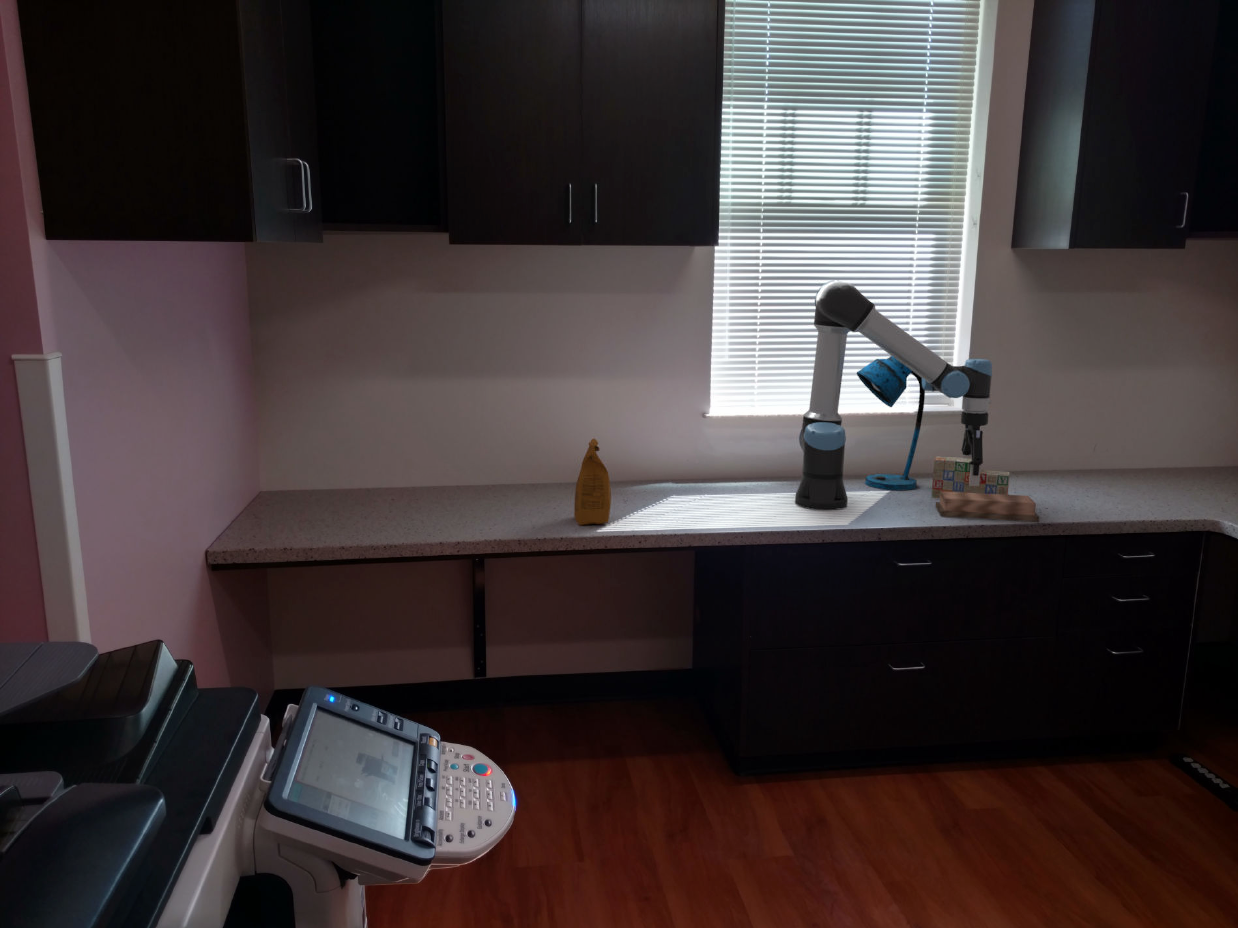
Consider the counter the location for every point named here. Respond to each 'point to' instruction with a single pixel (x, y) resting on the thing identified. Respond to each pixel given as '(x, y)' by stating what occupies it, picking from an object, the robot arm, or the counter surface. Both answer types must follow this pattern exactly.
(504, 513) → the counter surface
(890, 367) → the desk lamp
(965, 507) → the base brick
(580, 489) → the coffee package
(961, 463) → the stack of blocks
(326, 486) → the counter surface
